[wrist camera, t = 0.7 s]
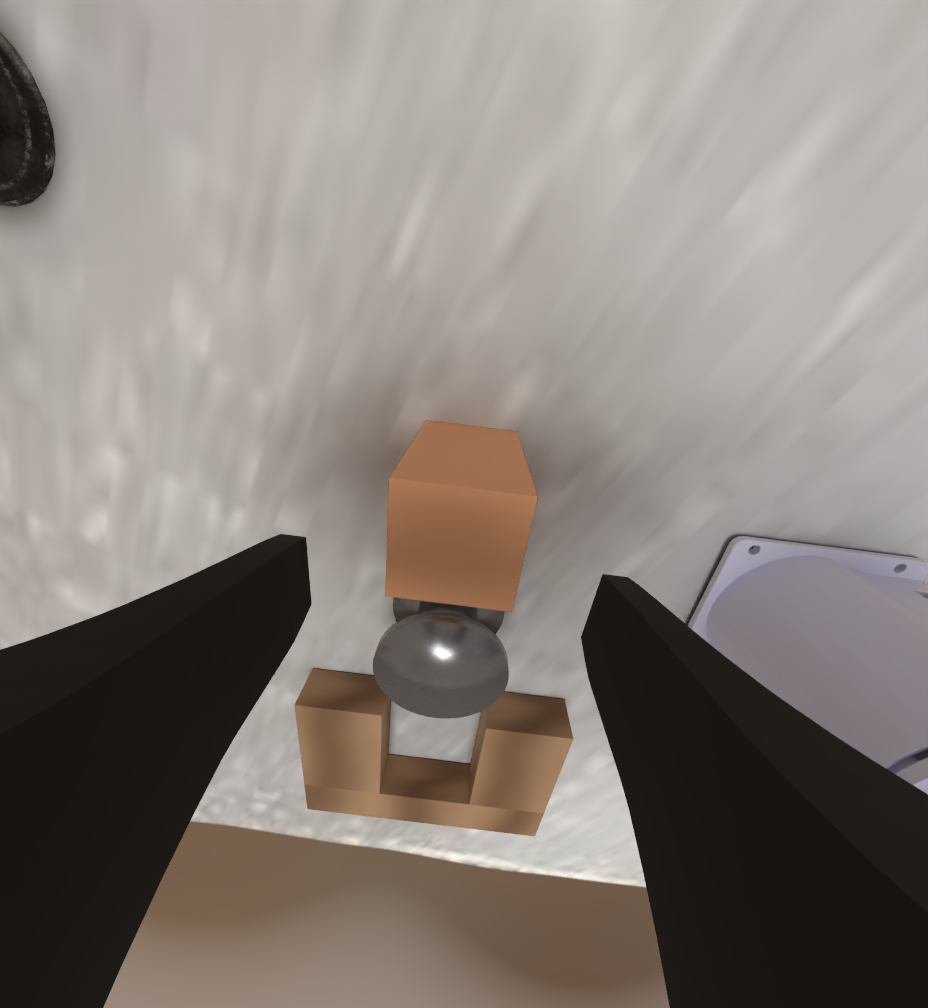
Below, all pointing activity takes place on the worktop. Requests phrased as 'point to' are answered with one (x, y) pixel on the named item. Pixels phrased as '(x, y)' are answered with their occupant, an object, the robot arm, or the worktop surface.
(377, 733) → the notched board
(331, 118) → the worktop surface
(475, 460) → the brown block
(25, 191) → the salt shaker
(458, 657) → the doorknob
